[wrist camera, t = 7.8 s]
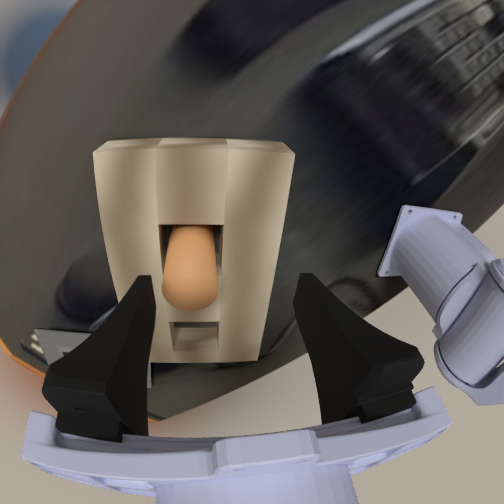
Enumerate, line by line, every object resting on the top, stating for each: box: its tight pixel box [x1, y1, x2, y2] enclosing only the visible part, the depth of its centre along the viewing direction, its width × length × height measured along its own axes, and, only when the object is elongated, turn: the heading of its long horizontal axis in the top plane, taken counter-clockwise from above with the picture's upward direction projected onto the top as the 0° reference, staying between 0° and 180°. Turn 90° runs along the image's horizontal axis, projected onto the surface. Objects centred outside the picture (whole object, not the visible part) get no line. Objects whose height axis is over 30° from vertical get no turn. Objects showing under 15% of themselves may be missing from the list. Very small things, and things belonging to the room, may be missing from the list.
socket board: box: [93, 137, 295, 363], centre depth 22 cm, size 12×20×4 cm, turn 174°
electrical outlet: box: [34, 328, 151, 388], centre depth 28 cm, size 13×10×2 cm
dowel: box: [162, 224, 218, 311], centre depth 19 cm, size 3×3×7 cm
